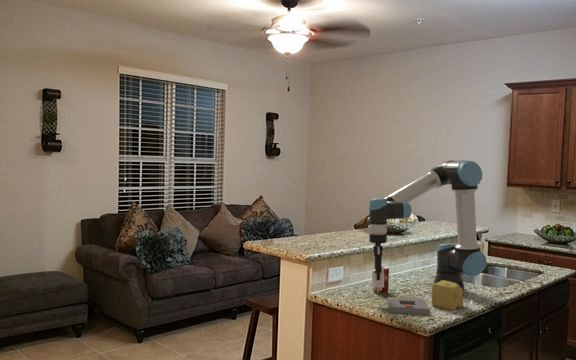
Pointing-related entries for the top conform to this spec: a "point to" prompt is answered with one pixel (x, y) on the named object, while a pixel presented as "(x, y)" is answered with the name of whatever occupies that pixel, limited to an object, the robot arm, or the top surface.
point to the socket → (407, 305)
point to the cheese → (447, 295)
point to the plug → (374, 280)
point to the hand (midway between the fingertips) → (377, 285)
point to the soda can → (386, 282)
